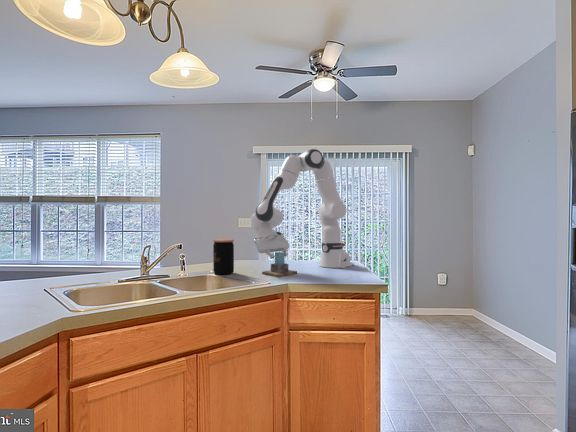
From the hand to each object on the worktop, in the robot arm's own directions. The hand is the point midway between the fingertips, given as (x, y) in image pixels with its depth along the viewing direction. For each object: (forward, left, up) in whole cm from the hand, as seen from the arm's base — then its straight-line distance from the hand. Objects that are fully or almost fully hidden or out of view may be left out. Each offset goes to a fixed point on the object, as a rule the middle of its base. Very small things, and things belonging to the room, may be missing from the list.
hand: (279, 256), depth 176 cm
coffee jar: (+21, -21, -9) cm, 31 cm away
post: (0, 0, -8) cm, 8 cm away
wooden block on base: (0, 0, -9) cm, 9 cm away
